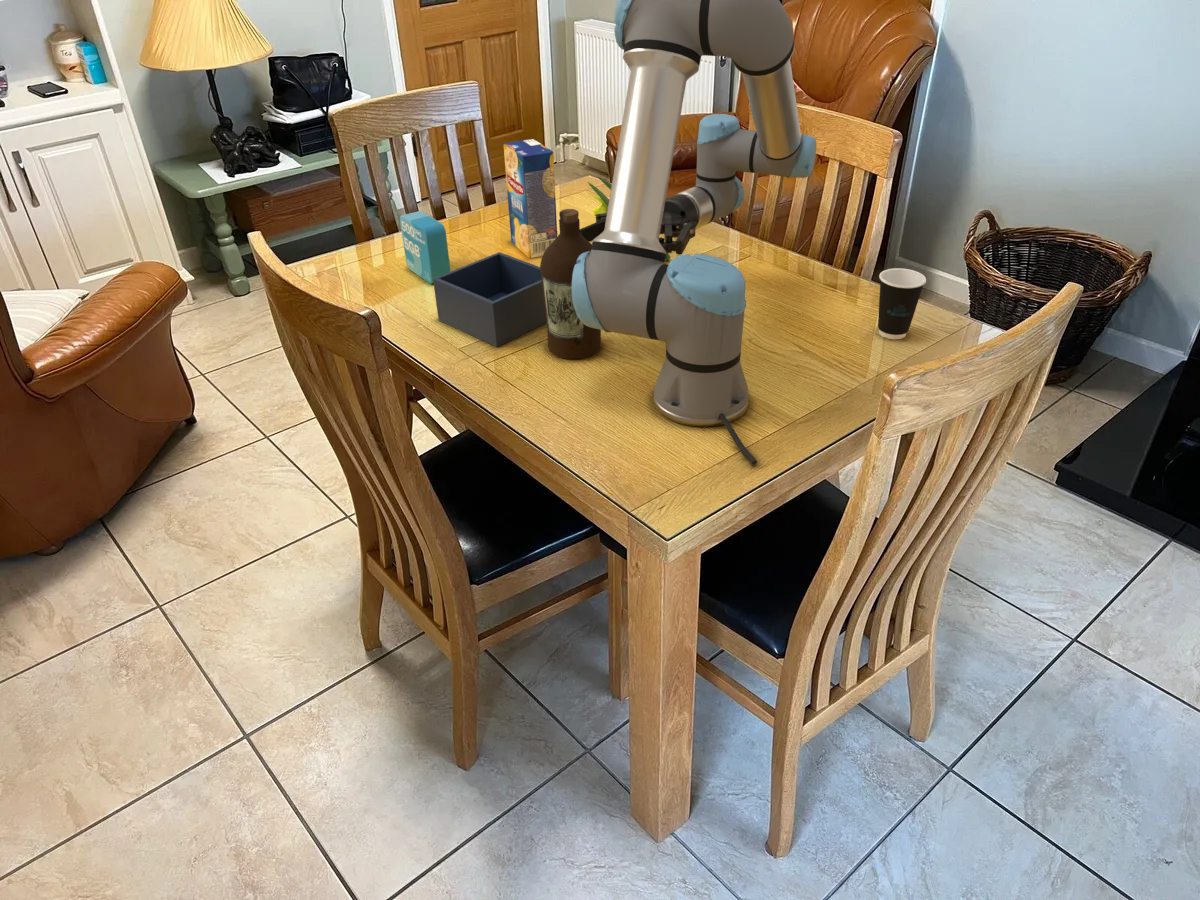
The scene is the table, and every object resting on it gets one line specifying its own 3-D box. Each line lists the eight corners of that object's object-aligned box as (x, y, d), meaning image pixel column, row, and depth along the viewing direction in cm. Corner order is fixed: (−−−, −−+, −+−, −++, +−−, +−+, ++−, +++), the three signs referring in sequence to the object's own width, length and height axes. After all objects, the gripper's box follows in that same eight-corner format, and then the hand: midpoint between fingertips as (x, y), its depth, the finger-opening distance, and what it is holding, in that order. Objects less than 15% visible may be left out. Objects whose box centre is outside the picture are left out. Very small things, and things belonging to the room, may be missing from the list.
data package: (406, 268, 191) (398, 213, 184) (425, 262, 193) (418, 208, 186) (432, 286, 183) (425, 230, 176) (452, 280, 185) (445, 224, 178)
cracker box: (538, 236, 204) (532, 138, 192) (558, 252, 196) (553, 151, 183) (511, 241, 202) (503, 143, 189) (529, 258, 194) (522, 156, 181)
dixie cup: (888, 347, 158) (899, 289, 151) (860, 328, 164) (870, 272, 158) (924, 338, 160) (936, 281, 154) (895, 320, 166) (906, 264, 160)
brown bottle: (559, 330, 166) (552, 198, 151) (612, 338, 162) (610, 204, 148) (535, 356, 157) (525, 219, 143) (591, 365, 154) (586, 226, 140)
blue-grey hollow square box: (561, 315, 170) (559, 274, 165) (496, 347, 160) (492, 303, 155) (502, 292, 180) (499, 251, 175) (438, 320, 170) (432, 278, 165)
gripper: (736, 248, 164) (663, 285, 151) (633, 217, 178) (559, 249, 165) (739, 208, 160) (664, 243, 147) (633, 180, 174) (557, 209, 161)
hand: (608, 246), depth 156 cm, fingers open, 13 cm apart
